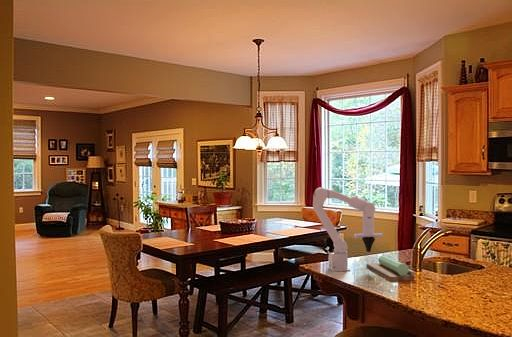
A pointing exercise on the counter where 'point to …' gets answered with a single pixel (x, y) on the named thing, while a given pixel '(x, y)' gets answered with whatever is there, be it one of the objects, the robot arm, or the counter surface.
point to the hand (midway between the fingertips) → (368, 251)
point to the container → (394, 265)
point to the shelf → (390, 273)
